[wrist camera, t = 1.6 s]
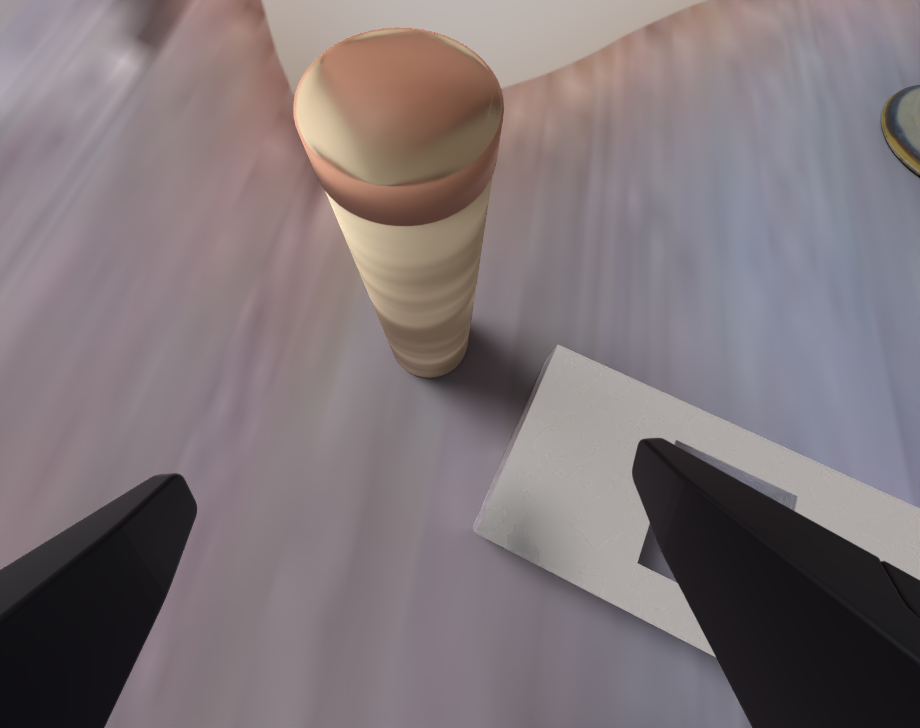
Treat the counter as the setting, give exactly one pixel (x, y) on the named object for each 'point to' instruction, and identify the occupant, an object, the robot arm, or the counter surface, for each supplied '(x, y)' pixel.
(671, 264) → the counter surface
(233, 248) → the counter surface
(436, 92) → the peg
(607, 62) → the counter surface
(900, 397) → the counter surface
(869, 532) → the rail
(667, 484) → the robot arm
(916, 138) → the apothecary jar
